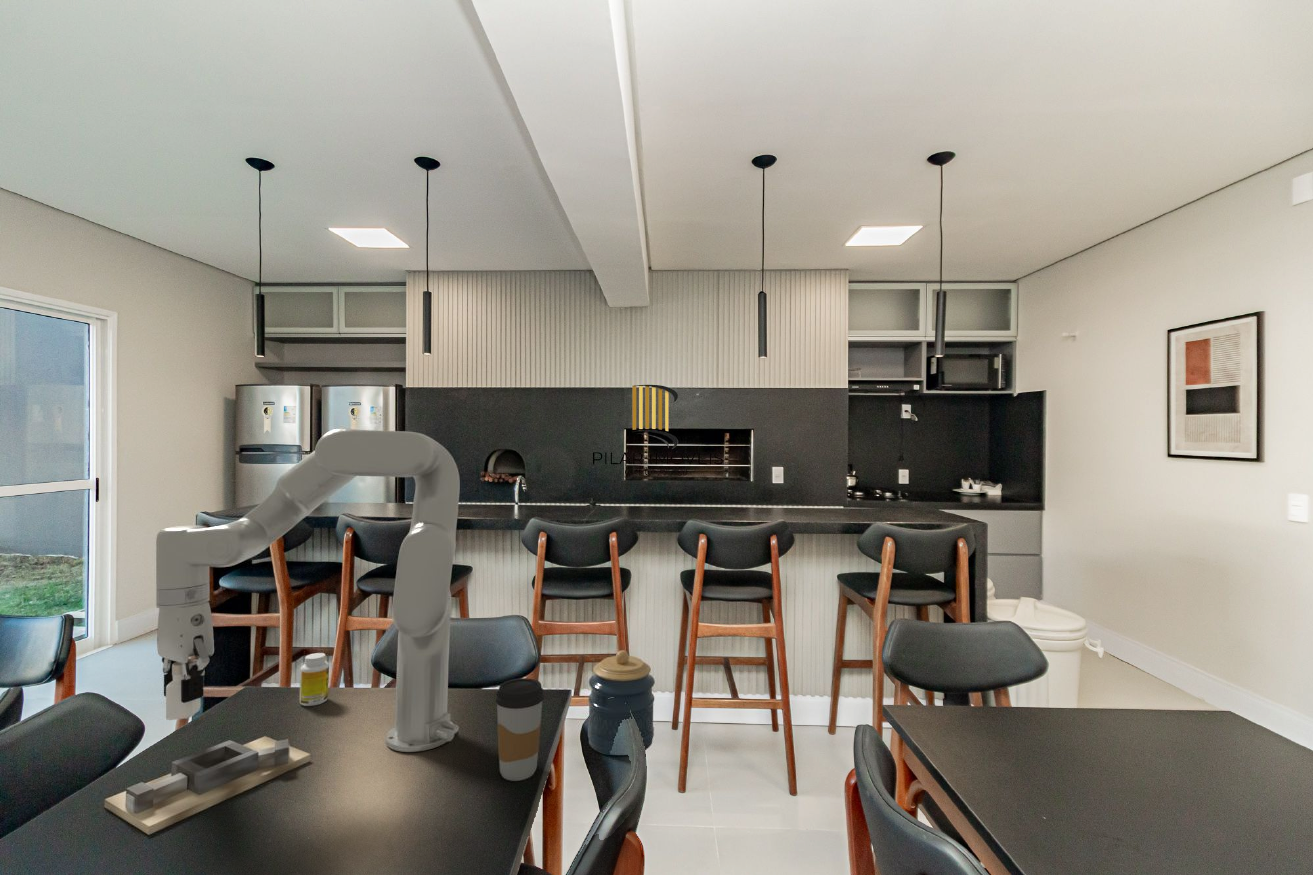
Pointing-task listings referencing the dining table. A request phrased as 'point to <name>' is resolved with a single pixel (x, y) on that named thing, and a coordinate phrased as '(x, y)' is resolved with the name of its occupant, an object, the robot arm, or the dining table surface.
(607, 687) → the canister
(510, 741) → the coffee cup
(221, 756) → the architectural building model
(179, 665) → the pepper shaker
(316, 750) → the dining table surface
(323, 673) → the supplement bottle
